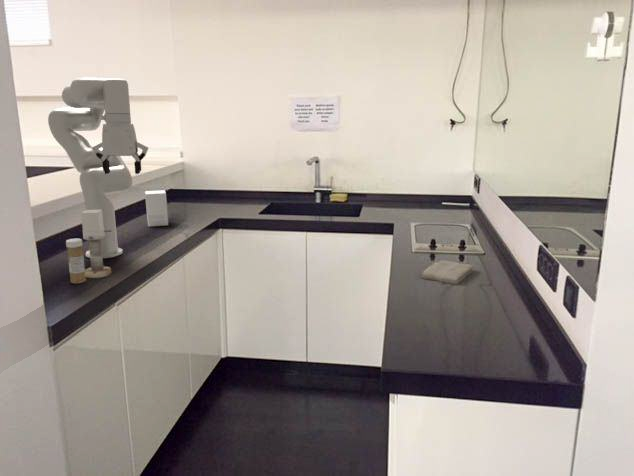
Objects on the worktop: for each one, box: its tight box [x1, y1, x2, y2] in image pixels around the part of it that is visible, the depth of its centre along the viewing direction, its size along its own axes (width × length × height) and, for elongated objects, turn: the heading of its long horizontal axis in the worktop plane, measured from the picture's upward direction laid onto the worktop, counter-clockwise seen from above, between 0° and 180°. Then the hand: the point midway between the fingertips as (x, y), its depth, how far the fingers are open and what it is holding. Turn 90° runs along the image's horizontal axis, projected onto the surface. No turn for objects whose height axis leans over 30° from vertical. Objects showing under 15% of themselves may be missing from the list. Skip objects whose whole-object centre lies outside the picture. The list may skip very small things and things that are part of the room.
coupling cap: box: [80, 209, 112, 241], centre depth 169 cm, size 9×8×8 cm
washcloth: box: [421, 259, 474, 285], centre depth 175 cm, size 12×18×3 cm, turn 148°
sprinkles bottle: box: [65, 237, 87, 284], centre depth 164 cm, size 5×5×13 cm
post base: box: [85, 239, 112, 279], centre depth 172 cm, size 8×8×12 cm
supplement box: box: [144, 189, 169, 227], centre depth 243 cm, size 9×9×15 cm
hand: (122, 173), depth 173 cm, fingers open, 9 cm apart
